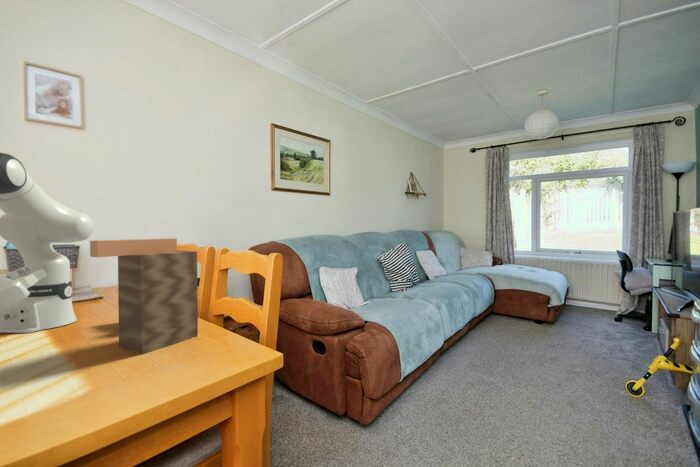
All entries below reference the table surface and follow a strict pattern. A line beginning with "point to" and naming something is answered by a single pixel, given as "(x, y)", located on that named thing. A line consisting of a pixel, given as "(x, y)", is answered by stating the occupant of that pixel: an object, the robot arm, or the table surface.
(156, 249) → the rail
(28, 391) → the table surface
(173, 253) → the zigzag grain wooden block
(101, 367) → the table surface
